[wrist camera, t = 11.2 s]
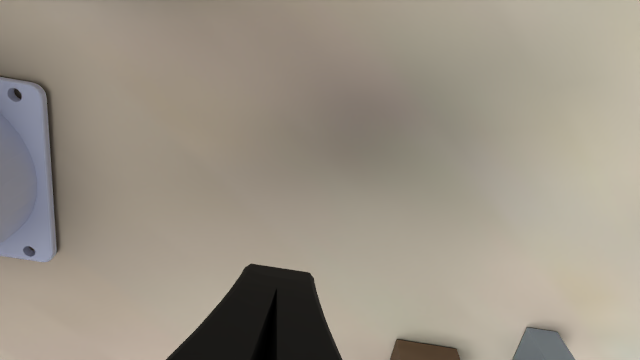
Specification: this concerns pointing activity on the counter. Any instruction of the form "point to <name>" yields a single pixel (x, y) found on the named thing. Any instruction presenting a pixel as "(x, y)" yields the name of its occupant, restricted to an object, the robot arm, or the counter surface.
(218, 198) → the counter surface
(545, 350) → the slate fence
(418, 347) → the walnut tee
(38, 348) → the counter surface
